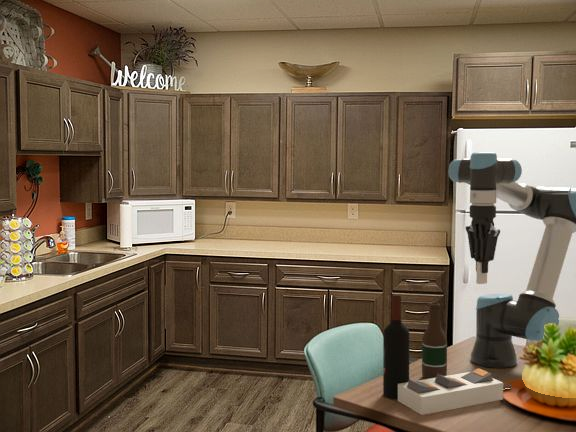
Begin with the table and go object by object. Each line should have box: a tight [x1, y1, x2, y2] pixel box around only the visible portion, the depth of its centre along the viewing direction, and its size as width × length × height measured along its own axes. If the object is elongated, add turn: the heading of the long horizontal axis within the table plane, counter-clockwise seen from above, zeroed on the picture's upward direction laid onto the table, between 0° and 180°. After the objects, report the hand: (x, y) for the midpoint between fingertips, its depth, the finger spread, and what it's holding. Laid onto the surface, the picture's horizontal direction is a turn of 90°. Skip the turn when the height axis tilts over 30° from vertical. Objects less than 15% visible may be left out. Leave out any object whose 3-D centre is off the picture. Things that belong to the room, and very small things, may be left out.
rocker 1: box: [407, 378, 439, 393], centre depth 191 cm, size 6×6×2 cm
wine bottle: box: [382, 293, 410, 401], centre depth 198 cm, size 8×8×30 cm
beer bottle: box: [421, 301, 448, 379], centre depth 214 cm, size 8×8×24 cm
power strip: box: [397, 371, 513, 416], centre depth 196 cm, size 36×12×5 cm, turn 113°
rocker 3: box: [462, 367, 493, 384], centre depth 198 cm, size 6×6×2 cm
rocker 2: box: [435, 374, 465, 388], centre depth 194 cm, size 6×6×2 cm
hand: (481, 283), depth 201 cm, fingers closed
